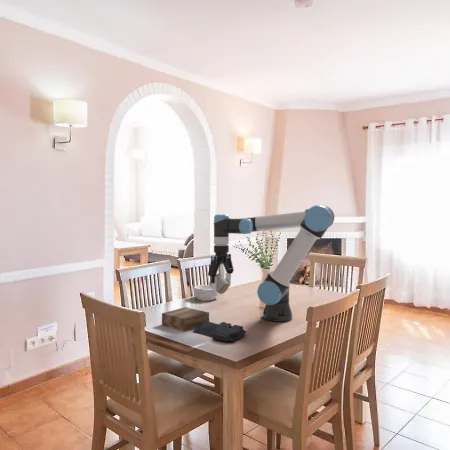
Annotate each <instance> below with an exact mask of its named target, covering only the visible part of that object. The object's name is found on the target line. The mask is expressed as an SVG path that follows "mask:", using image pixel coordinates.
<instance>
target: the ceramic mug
mask: <svg viewBox="0 0 450 450" xmlns="http://www.w3.org/2000/svg"><path fill="white" fill-rule="evenodd" d="M215 277H217V290H216V291H217V292H218V293H219V295H223V294H224V293H226V291H227V290H228V289H229V287H230V286H229V285H230V283H229V282H228V281H227V280H226V278H224V277H223V275H221V274H220V273H217V274H216V276H215ZM208 285H210V286H211V279H210V280H209V282H208Z"/></svg>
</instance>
